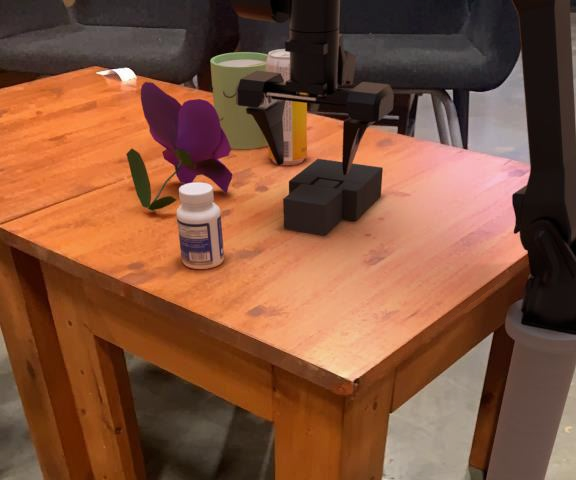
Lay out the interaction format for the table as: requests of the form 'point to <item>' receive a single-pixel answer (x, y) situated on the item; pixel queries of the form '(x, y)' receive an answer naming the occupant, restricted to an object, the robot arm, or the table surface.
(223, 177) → the flower
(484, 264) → the table surface
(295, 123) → the beer can
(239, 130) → the mug
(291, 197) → the black block
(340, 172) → the black notched block
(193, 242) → the pill bottle
